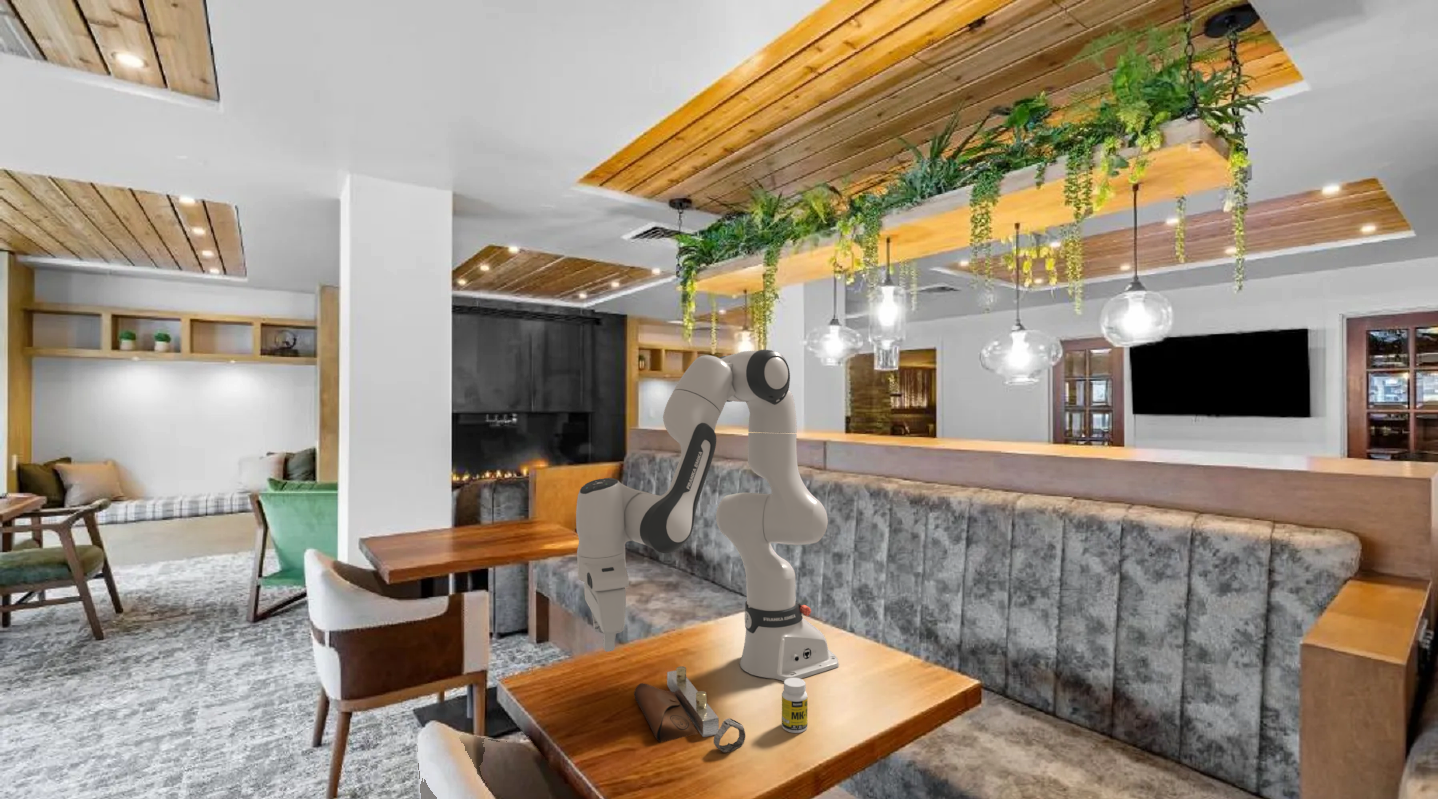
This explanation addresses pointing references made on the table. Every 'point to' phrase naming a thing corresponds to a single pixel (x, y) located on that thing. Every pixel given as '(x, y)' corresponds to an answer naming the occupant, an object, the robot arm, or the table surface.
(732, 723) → the wristwatch
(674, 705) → the sunglasses case
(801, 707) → the supplement bottle
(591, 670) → the table surface
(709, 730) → the white board with knobs
